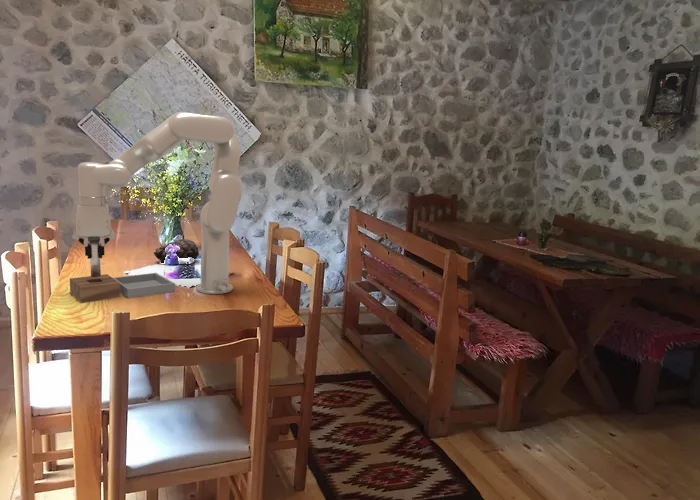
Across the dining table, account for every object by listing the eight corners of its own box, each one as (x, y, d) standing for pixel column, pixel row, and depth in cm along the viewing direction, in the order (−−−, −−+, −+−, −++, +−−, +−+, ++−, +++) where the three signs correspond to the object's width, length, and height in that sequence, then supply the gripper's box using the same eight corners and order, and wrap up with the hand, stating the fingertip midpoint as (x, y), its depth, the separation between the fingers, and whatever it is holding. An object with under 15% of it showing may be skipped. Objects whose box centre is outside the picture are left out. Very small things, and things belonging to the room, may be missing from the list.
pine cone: (152, 261, 241) (152, 237, 239) (196, 259, 249) (196, 236, 247) (156, 267, 232) (155, 243, 230) (201, 265, 240) (201, 241, 238)
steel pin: (105, 276, 191) (103, 235, 188) (91, 278, 188) (89, 236, 185) (100, 273, 194) (98, 233, 191) (86, 275, 191) (84, 234, 188)
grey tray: (174, 291, 202) (174, 283, 201) (128, 298, 191) (128, 289, 191) (156, 280, 214) (156, 272, 213) (111, 286, 203) (111, 277, 203)
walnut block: (120, 297, 192) (119, 282, 191) (81, 302, 184) (80, 287, 183) (107, 288, 200) (107, 274, 199) (70, 293, 193) (69, 278, 192)
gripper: (120, 200, 192) (122, 254, 196) (65, 199, 186) (68, 255, 190) (120, 203, 185) (121, 259, 189) (63, 203, 179) (66, 261, 183)
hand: (95, 257), depth 190 cm, fingers closed on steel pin, 3 cm apart
